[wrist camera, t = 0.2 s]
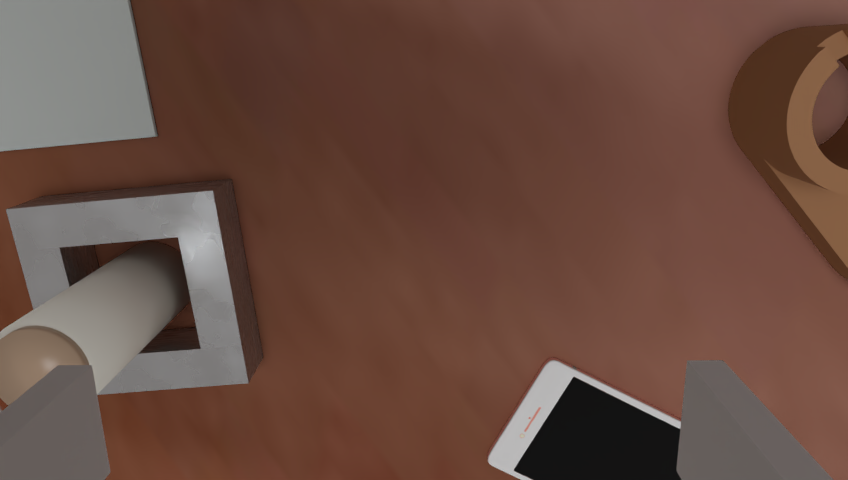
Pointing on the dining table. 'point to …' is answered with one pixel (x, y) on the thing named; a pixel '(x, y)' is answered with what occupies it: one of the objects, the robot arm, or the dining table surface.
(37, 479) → the robot arm
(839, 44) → the bracket
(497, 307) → the dining table surface
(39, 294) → the housing
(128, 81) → the pad
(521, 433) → the cell phone
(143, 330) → the off-white cylinder
